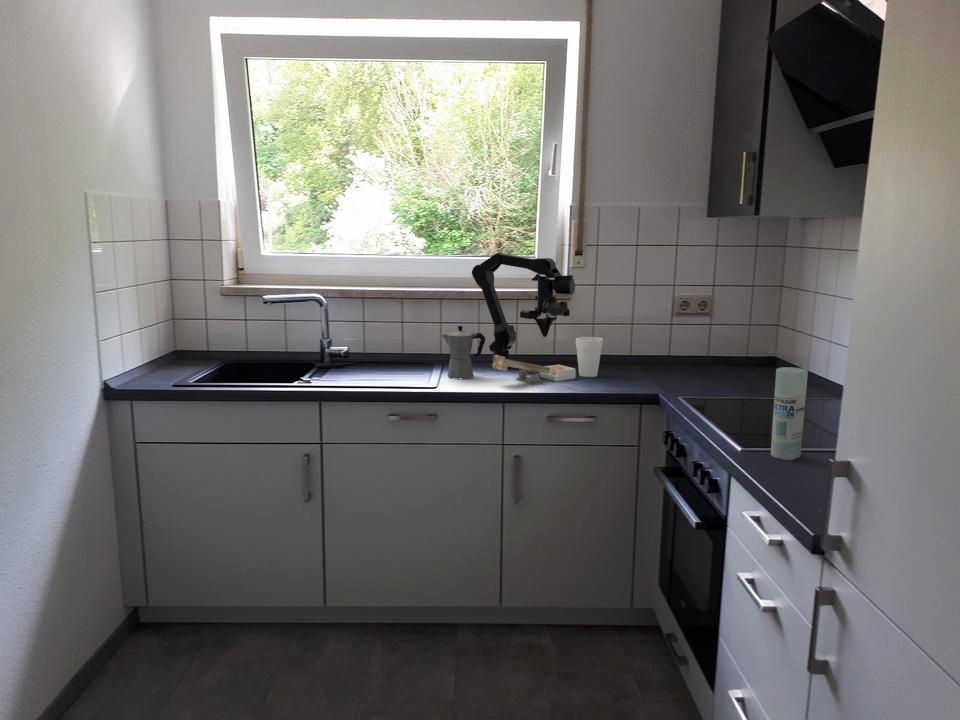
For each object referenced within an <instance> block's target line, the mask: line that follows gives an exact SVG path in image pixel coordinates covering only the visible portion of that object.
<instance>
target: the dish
mask: <svg viewBox="0 0 960 720" xmlns="http://www.w3.org/2000/svg"><path fill="white" fill-rule="evenodd" d="M543 367H548V368H550V370H549V374H548V373H542V372H539V378H542V379H545V380H549V381H553V382H561V381H568V380H575V379H576V370H577V369H576V368H574V367H570V366H566V365H562V364H554V365H546V366H543ZM558 367H563V368H564V370H558V371H556V369H557V368H558Z"/></svg>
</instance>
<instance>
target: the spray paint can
mask: <svg viewBox="0 0 960 720" xmlns="http://www.w3.org/2000/svg"><path fill="white" fill-rule="evenodd" d="M808 374H809V371H808V370H807V369H806V368H800V367H792V366H791V367H789V366H788V367H787V366H785V367H784V366H783V367H782V366H781V367H777V368H776V370H775V383H774V396H773V397H774V398H773V413H772V414H773V415H772V426H771V427H772V428H771V429H772V430H771V442H770V443H771V445H770V455H771V457H772V458H776V459H779V460H783V461H784V460H785V461H796V460H799V459H800V457H801V454H802V444H803V443H802V442H803V432H804V422H805V421H804V419H805V409H806V408H805V407H806V398H807V385H808V384H807V383H808V377H809V375H808Z"/></svg>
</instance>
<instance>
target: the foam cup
mask: <svg viewBox="0 0 960 720" xmlns="http://www.w3.org/2000/svg"><path fill="white" fill-rule="evenodd" d="M603 340H604V339H603V337H598V336H579V337H576V338H575V348H576V355H577V358H576V359H577V367H578V373H579V377H583V378H585V377H586V378H594V377H597V376H598V373H599V372H598V371H599V366H600V361H601V360H600V359H601V353H602V348H603Z"/></svg>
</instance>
